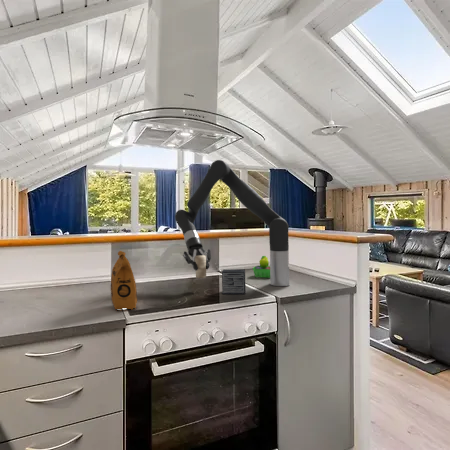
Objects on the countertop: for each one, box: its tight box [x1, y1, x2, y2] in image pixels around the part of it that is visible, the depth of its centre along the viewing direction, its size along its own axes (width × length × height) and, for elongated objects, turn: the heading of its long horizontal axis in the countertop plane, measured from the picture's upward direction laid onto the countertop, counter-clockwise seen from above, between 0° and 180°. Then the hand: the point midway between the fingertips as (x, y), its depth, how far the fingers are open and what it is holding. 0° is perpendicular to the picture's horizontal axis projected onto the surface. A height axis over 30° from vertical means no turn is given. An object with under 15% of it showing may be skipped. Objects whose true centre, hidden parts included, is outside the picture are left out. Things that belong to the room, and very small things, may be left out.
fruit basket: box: [252, 255, 270, 279], centre depth 180 cm, size 11×9×11 cm
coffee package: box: [110, 250, 138, 310], centre depth 128 cm, size 10×12×22 cm
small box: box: [221, 268, 247, 295], centre depth 147 cm, size 11×6×10 cm, turn 84°
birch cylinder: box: [195, 255, 207, 279], centre depth 152 cm, size 5×5×10 cm
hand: (202, 268), depth 150 cm, fingers closed on birch cylinder, 5 cm apart
